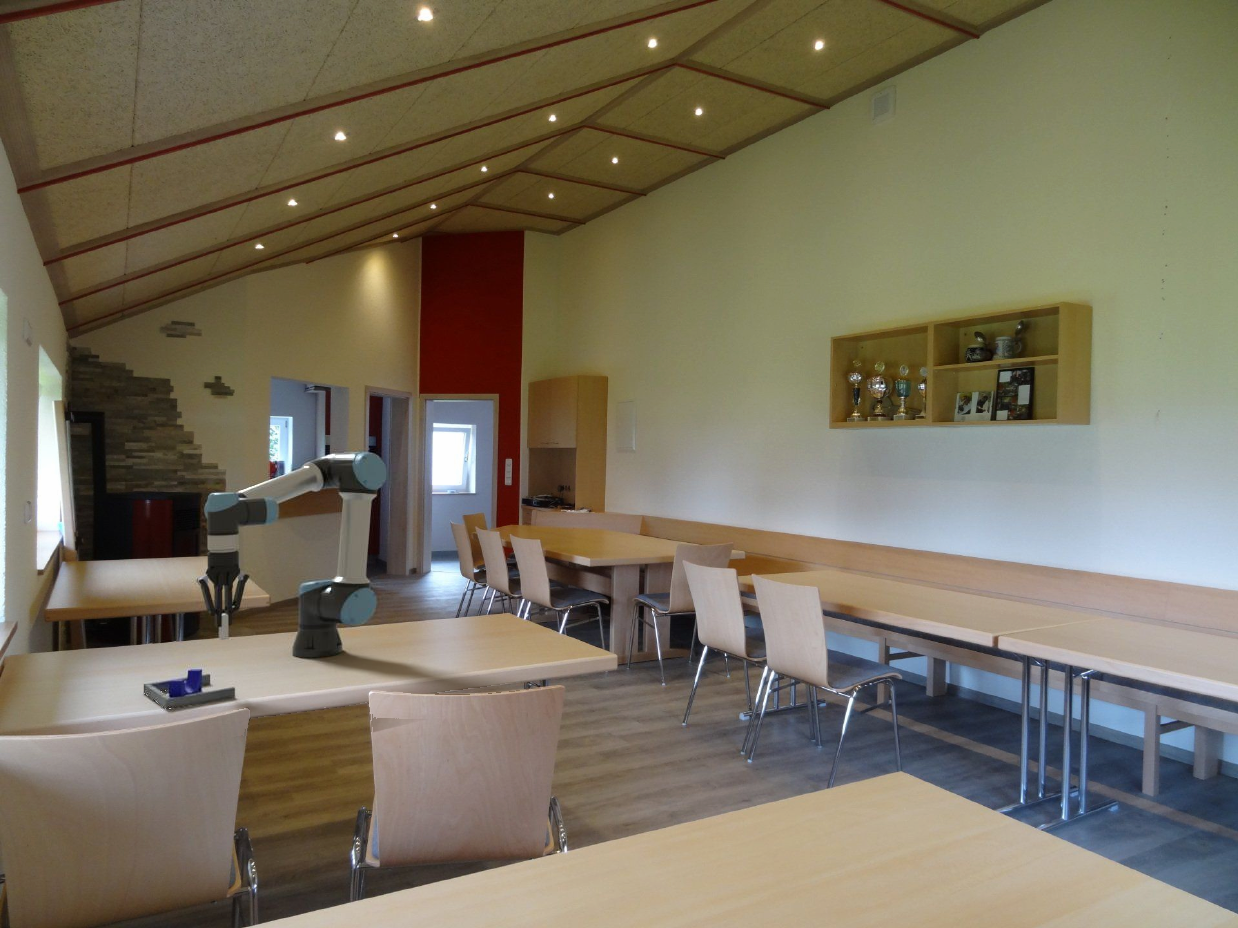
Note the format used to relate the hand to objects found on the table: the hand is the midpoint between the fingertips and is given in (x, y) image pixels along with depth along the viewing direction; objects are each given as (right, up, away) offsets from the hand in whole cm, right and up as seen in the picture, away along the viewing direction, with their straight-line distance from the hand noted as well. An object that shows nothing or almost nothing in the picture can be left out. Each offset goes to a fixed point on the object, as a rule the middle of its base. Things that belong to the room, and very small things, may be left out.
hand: (223, 638), depth 219 cm
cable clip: (-7, -14, -8) cm, 17 cm away
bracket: (-6, -14, -6) cm, 16 cm away
